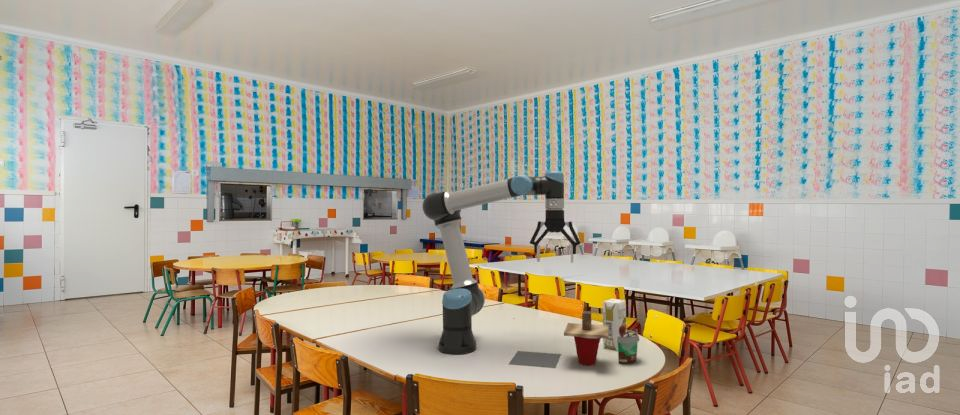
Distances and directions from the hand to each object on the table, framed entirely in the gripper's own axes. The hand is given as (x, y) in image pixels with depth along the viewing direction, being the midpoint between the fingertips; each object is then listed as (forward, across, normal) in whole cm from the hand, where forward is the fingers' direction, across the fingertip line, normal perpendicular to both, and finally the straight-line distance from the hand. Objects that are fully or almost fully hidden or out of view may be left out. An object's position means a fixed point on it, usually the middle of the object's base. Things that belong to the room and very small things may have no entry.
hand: (555, 262), depth 204 cm
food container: (+35, +29, -11) cm, 47 cm away
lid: (+23, +14, -19) cm, 33 cm away
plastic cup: (+35, +14, -19) cm, 42 cm away
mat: (+35, -5, -19) cm, 40 cm away
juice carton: (+35, +23, +6) cm, 42 cm away
